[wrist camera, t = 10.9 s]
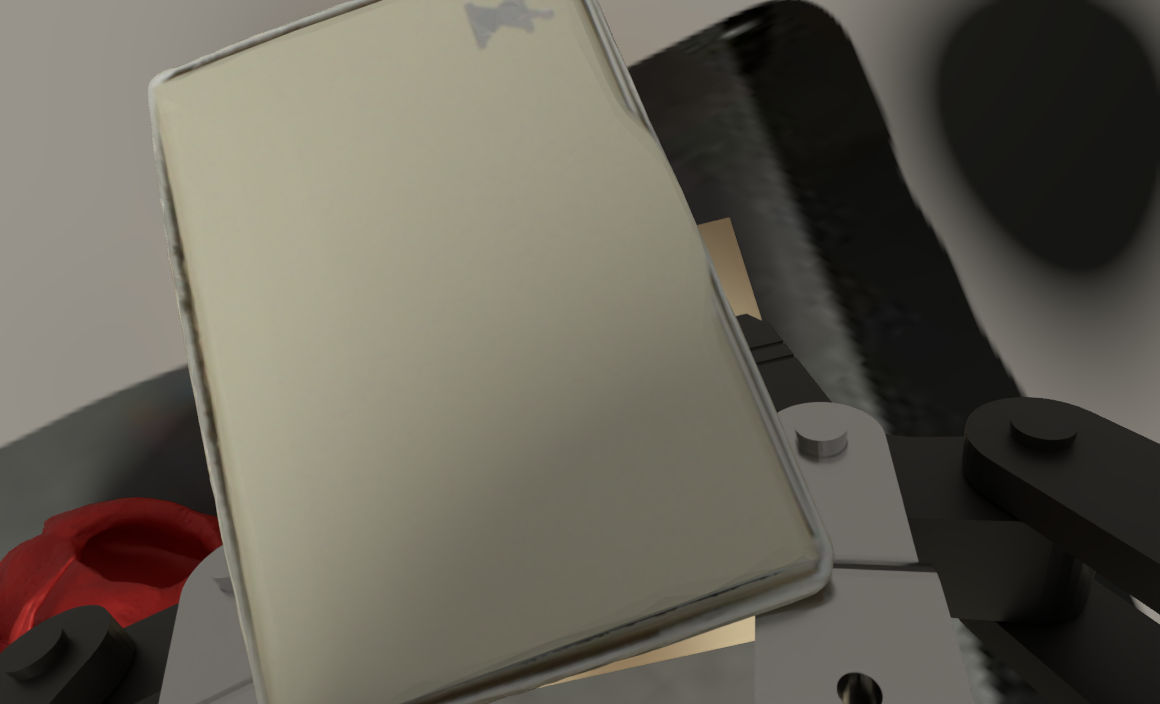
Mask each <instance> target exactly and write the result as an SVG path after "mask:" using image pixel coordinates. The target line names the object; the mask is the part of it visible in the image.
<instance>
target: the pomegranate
mask: <svg viewBox="0 0 1160 704" xmlns="http://www.w3.org/2000/svg"><path fill="white" fill-rule="evenodd" d="M222 545H223V542H222V537H221V532H220V527H219V522H218V517H215V516H213V515H207V514H203V513H200V512H198V511H195V510H191V509H190V508H188V507H185V506H183V505H180V504H177V503H174V502H171V501H165V500H159V499H153V498H142V497H133V498H120V499H117V500H113V501H104V502H99V503H94V504H89V505H86V506H83V507H80V508H77V509H74V510H72V511H67V512H64V513H61V514H58V515H55V516H52V517H51V518H49V519H48V520H47V521H45V522H44V528H43V533H42V534H41V535H39V536H36V537H34V538H32V539H31V540H27V541H25V542H23V543H21V544H19V546H17V547H15V548H14V549H12V550H11V551H9V552H8V554H7V555H6V556H5V557H4V558H3V560H2V561H1V562H0V653H1V652H2V651H3V650H4V649H5V648H7V647H8V646H9V645H10V644H11V643H13V642H14V641H15V640H16V639H18V638H19V637H20V636H22V635H23V634H24V633H26V632H27V631H29V630H30V629H32V628H33V627H35V626H37V625H38V624H40V623H41V622H43V621H45V620H47V619H49V618H51V617H53V616H55V615H57V614H59V613H61V612H64V611H66V610H69V609H72V608H75V607H79V606H84V605H99V606H102V607H104V608H105V609H106V610H107V611H108V612H109V613H110V614H111V615H112V616H113V618H114V619H115V620H116V621H117V622H118V623H119V624H120V625H121V626H122V628H125V627H127V626H129V625H131V624H133V623H136V622H138V621H140V620H142V619H144V618H147V617H149V616H151V615H153V614H155V613H157V612H160V611H162V610H164V609H166V608H168V607H171V606H173V605H175V604H177V603H179V601H180V596H181V592H182V589H183V587H184V585H185V583H186V581H187V579H188V578H189V576H190V575H191V573H192V572H193V571H194V570H195V569H196V567H197V566H198V565H199V564H200V563H201V562H202V561H203V560H204V559H205V558H206V557H207V556H209V555H210V554H211V553H212V552H213V551H215V550H216V549H217V548H219V547H220V546H222Z"/></svg>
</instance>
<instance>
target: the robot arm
mask: <svg viewBox="0 0 1160 704" xmlns="http://www.w3.org/2000/svg"><path fill="white" fill-rule="evenodd" d="M736 318H737V320H738V322H739V325H740V327H741V330H742V332H743V334H744V337H745V339H746V341H747V344H748V346H749V349H750V351H751V353H752V356H753V358H754V360H755V363H756V365H757V367H758V370H759V372H760V374H761V377H762V379H763V381H764V384H765V386H766V388H767V391H768V393H769V395H770V398H771V400H772V402H773V405H774V407H775V409H776V411H777V414H778V416H779V418H780V421H781V423H782V425H783V428H784V430H785V433H786V435H787V438H788V440H789V442H790V445H791V447H792V450H793V452H794V454H795V457H796V459H797V462H798V464H799V466H800V469H801V471H802V474H803V476H804V479H805V481H806V483H807V486H808V488H809V491H810V493H811V495H812V498H813V500H814V502H815V505H816V507H817V510H818V512H819V514H820V517H821V519H822V522H823V524H824V526H825V528H826V530H827V532H828V534H829V536H830V538H831V541H832V545H833V549H834V553H835V554H834V562H833V569H832V576H831V579H830V580H829V581H828V583H827V584H826V585H825V586H824V588H823V589H822V590H820V591H819V592H817V593H816V594H814V595H812V596H809V597H807V598H804V599H801V600H799V601H796V602H793V603H791V604H788V605H785V606H782V607H779V608H776V609H773V610H771V611H768V612H765V613H762V614H759V615H756V616H755V704H975V700H974V697H973V694H972V690H971V687H970V683H969V680H968V676H967V673H966V669H965V666H964V662H963V659H962V655H961V652H960V648H959V645H958V641H957V638H956V634H955V631H954V627H953V624H952V620H951V618H959V620H960V621H961V622H962V623H963V624H964V625H965V626H966V627H967V628H968V629H969V630H970V631H971V632H972V633H973V634H974V635H975V636H977V637H978V638H979V639H980V640H981V641H982V642H983V643H984V644H985V645H987V646H988V647H989V648H990V649H991V650H992V651H993V652H994V653H995V654H996V655H998V656H999V657H1000V658H1001V659H1002V660H1003V661H1004V662H1005V663H1006V664H1008V665H1009V666H1010V667H1011V668H1012V669H1013V670H1014V671H1015V672H1016V673H1018V674H1019V675H1020V676H1021V677H1022V678H1023V679H1024V680H1025V681H1026V682H1027V683H1029V684H1030V685H1031V686H1032V687H1033V688H1034V689H1035V690H1036V691H1037V692H1039V693H1040V694H1041V695H1042V696H1043V697H1044V698H1045V699H1046V700H1047V701H1048V702H1050V703H1051V704H1160V624H1158V623H1157V622H1155V621H1154V620H1152V619H1151V618H1150V617H1148V616H1147V615H1145V614H1144V613H1142V612H1141V611H1139V610H1138V609H1136V608H1135V607H1134V606H1132V605H1131V604H1129V603H1128V602H1126V601H1125V600H1123V599H1122V598H1121V597H1119V596H1118V595H1116V594H1115V593H1113V592H1112V591H1110V590H1109V589H1107V588H1106V587H1105V586H1103V585H1102V584H1100V583H1099V582H1097V581H1096V580H1094V579H1093V578H1094V574H1095V571H1096V572H1098V573H1099V574H1101V575H1102V576H1104V577H1105V578H1106V579H1108V580H1109V581H1111V582H1112V583H1114V584H1115V585H1117V586H1118V587H1120V588H1121V589H1123V590H1124V591H1126V592H1127V593H1129V594H1130V595H1132V596H1133V597H1135V598H1136V599H1138V600H1139V601H1141V602H1142V603H1143V604H1145V605H1146V606H1148V607H1150V608H1151V609H1153V610H1154V611H1156V612H1157V613H1158V614H1160V444H1159V443H1156V442H1154V441H1152V440H1150V439H1148V438H1146V437H1144V436H1142V435H1139V434H1137V433H1135V432H1133V431H1131V430H1129V429H1127V428H1124V427H1122V426H1120V425H1118V424H1116V423H1114V422H1112V421H1110V420H1107V419H1105V418H1103V417H1101V416H1099V415H1097V414H1095V413H1092V412H1090V411H1088V410H1085V409H1082V408H1080V407H1078V406H1075V405H1071V404H1068V403H1065V402H1060V401H1056V400H1050V399H1043V398H1030V397H1018V398H1007V399H1001V400H996V401H992V402H990V403H987V404H984V405H982V406H981V407H979V408H977V409H976V410H975V411H974V412H972V413H971V414H970V416H969V417H968V419H967V422H966V426H965V435H964V437H902V436H894V435H888V434H885V433H884V430H883V428H882V427H881V426H880V424H879V423H878V422H877V421H876V420H875V419H874V418H873V417H871V416H870V415H868V414H866V413H865V412H863V411H861V410H858V409H856V408H853V407H850V406H847V405H843V404H838V403H832V402H831V401H830V399H829V398H828V397H827V396H826V394H825V393H824V392H823V391H822V389H821V388H820V387H819V386H818V384H817V383H816V382H815V381H814V379H813V378H812V377H811V376H810V374H809V373H808V372H807V370H806V369H805V368H804V367H803V365H802V364H801V363H800V362H799V360H798V359H797V358H794V355H793V353H792V352H791V350H790V349H789V348H788V347H787V345H786V344H783V340H782V339H781V338H780V336H779V335H778V334H777V333H776V331H775V330H774V329H773V328H772V326H771V325H770V324H768V323H766V322H764V321H762V320H759V319H757V318H755V317H753V316H751V315H749V314H742V315H738V316H736ZM0 704H258V701H257V697H256V692H255V687H254V682H253V677H252V673H251V668H250V663H249V658H248V654H247V650H246V646H245V642H244V638H243V634H242V630H241V626H240V622H239V618H238V612H237V605H236V599H235V594H234V590H233V586H232V581H231V577H230V573H229V569H228V565H227V560H226V556H225V552H224V547H223V545H222V546H220V547H219V548H217V549H216V550H215V551H213V552H212V553H211V554H210V555H209V556H207V557H206V558H205V559H204V560H203V561H202V562H201V563H200V564H199V565H198V566H197V567H196V569H195V570H194V571H193V572H192V573H191V575H190V576H189V578H188V579H187V581H186V583H185V585H184V587H183V589H182V592H181V596H180V601H179V603H177V604H175V605H173V606H171V607H168V608H166V609H164V610H162V611H160V612H157V613H155V614H153V615H151V616H149V617H147V618H144V619H142V620H140V621H138V622H136V623H133V624H131V625H129V626H127V627H125V628H122V626H121V625H120V624H119V623H118V622H117V621H116V620H115V619H114V618H113V616H112V615H111V614H110V613H109V612H108V611H107V610H106V609H105V608H104V607H102V606H99V605H84V606H79V607H75V608H72V609H69V610H66V611H64V612H61V613H59V614H57V615H55V616H53V617H51V618H49V619H47V620H45V621H43V622H41V623H40V624H38V625H37V626H35V627H33V628H32V629H30V630H29V631H27V632H26V633H24V634H23V635H22V636H20V637H19V638H18V639H16V640H15V641H14V642H13V643H11V644H10V645H9V646H8V647H7V648H5V649H4V650H3V651H2V652H1V653H0Z"/></svg>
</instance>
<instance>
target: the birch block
mask: <svg viewBox="0 0 1160 704" xmlns="http://www.w3.org/2000/svg"><path fill="white" fill-rule="evenodd" d="M697 227H698V229H699V231H700V233H701V235H702V238H703V240H704V242H705V245H706V247H707V249H708V252H709V254H710V256H711V258H712V261H713V264H714V266H715V269H716V271H717V274H718V277H719V279H720V282H721V284H722V287H723V289H724V292H725V295H726V297H727V299H728V301H729V303H730V306H731V308H732V310H733V312H734V314H735V316H738V315H742V314H749V315H751V316H753V317H755V318H757V319H759V320H762V319H761V316H760V313H759V310H758V306H757V303H756V300H755V297H754V294H753V290H752V287H751V284H750V281H749V278H748V275H747V271H746V268H745V265H744V262H743V259H742V255H741V252H740V249H739V246H738V243H737V240H736V236H735V233H734V230H733V227H732V224H731V221H730V217H728V218H724V219H720V220H716V221H712V222H708V223H704V224H700V225H697ZM750 641H755V616H753V617H750V618H747V619H744V620H741V621H738V622H735V623H732V624H729V625H726V626H723V627H720V628H718V629H715V630H712V631H709V632H706V633H703V634H700V635H698V636H695V637H692V638H689V639H686V640H683V641H681V642H678V643H675V644H672V645H669V646H666V647H663V648H660V649H657V650H654V651H651V652H648V653H645V654H642V655H638V656H635V657H631V658H627V659H624V660H620V661H616V662H613V663H611V664H608V665H605V666H603V667H600V668H598V669H594V670H591V671H588V672H584V673H581V674H577V675H574V676H571V677H567V678H565V679H562V680H560V681H557V682H555V683H551V684H547V685H544V686H548V685H553V684H557V683H562V682H567V681H571V680H576V679H580V678H585V677H589V676H594V675H599V674H603V673H608V672H612V671H617V670H622V669H626V668H631V667H635V666H640V665H645V664H649V663H654V662H658V661H663V660H668V659H672V658H677V657H681V656H686V655H690V654H695V653H700V652H704V651H709V650H713V649H718V648H723V647H727V646H732V645H736V644H741V643H746V642H750ZM544 686H541V687H544ZM538 688H539V687H538Z"/></svg>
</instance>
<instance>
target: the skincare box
mask: <svg viewBox="0 0 1160 704" xmlns="http://www.w3.org/2000/svg"><path fill="white" fill-rule="evenodd" d="M148 103H149V109H150V115H151V122H152V145H153V149H154V154H155V161H156V168H157V176H158V188H159V197H160V201H161V206H162V213H163V222H164V228H165V235H166V240H167V244H168V258H169V263H170V267H171V272H172V277H173V283H174V289H175V295H176V302H177V307H178V312H179V316H180V320H181V325H182V330H183V338H184V344H185V351H186V356H187V361H188V367H189V372H190V378H191V383H192V388H193V393H194V398H195V403H196V408H197V413H198V419H199V424H200V429H201V434H202V440H203V445H204V450H205V455H206V461H207V466H208V471H209V475H210V483H211V486H212V490H213V494H214V498H215V504H216V510H217V516H218V522H219V527H220V532H221V537H222V542H223V547H224V552H225V556H226V560H227V565H228V569H229V573H230V577H231V581H232V586H233V590H234V594H235V599H236V605H237V612H238V618H239V622H240V626H241V630H242V634H243V638H244V642H245V646H246V650H247V654H248V658H249V663H250V668H251V673H252V677H253V682H254V687H255V692H256V697H257V701H258V704H487V703H491V702H494V701H496V700H499V699H502V698H505V697H507V696H512V695H516V694H521V693H524V692H527V691H530V690H532V689H535V688H538V687H541V686H544V685H547V684H551V683H555V682H557V681H560V680H562V679H565V678H567V677H571V676H574V675H577V674H581V673H584V672H588V671H591V670H594V669H598V668H600V667H603V666H605V665H608V664H611V663H613V662H616V661H620V660H624V659H627V658H631V657H635V656H638V655H642V654H645V653H648V652H651V651H654V650H657V649H660V648H663V647H666V646H669V645H672V644H675V643H678V642H681V641H683V640H686V639H689V638H692V637H695V636H698V635H700V634H703V633H706V632H709V631H712V630H715V629H718V628H720V627H723V626H726V625H729V624H732V623H735V622H738V621H741V620H744V619H747V618H750V617H753V616H756V615H759V614H762V613H765V612H768V611H771V610H773V609H776V608H779V607H782V606H785V605H788V604H791V603H793V602H796V601H799V600H801V599H804V598H807V597H809V596H812V595H814V594H816V593H817V592H819V591H820V590H822V589H823V588H824V586H825V585H826V584H827V583H828V581H829V580H830V579H831V576H832V569H833V562H834V554H835V553H834V549H833V545H832V541H831V538H830V536H829V534H828V532H827V530H826V528H825V526H824V524H823V522H822V519H821V517H820V514H819V512H818V510H817V507H816V505H815V502H814V500H813V498H812V495H811V493H810V491H809V488H808V486H807V483H806V481H805V479H804V476H803V474H802V471H801V469H800V466H799V464H798V462H797V459H796V457H795V454H794V452H793V450H792V447H791V445H790V442H789V440H788V438H787V435H786V433H785V430H784V428H783V425H782V423H781V421H780V418H779V416H778V414H777V411H776V409H775V407H774V405H773V402H772V400H771V398H770V395H769V393H768V391H767V388H766V386H765V384H764V381H763V379H762V377H761V374H760V372H759V370H758V367H757V365H756V363H755V360H754V358H753V356H752V353H751V351H750V349H749V346H748V344H747V341H746V339H745V337H744V334H743V332H742V330H741V327H740V325H739V322H738V320H737V318H736V316H735V314H734V312H733V310H732V308H731V306H730V303H729V301H728V299H727V297H726V295H725V292H724V289H723V287H722V284H721V282H720V279H719V277H718V274H717V271H716V269H715V266H714V264H713V261H712V258H711V256H710V254H709V252H708V249H707V247H706V245H705V242H704V240H703V238H702V235H701V233H700V231H699V229H698V227H697V225H696V223H695V220H694V218H693V215H692V213H691V211H690V208H689V206H688V204H687V201H686V199H685V196H684V194H683V192H682V189H681V187H680V185H679V183H678V181H677V178H676V176H675V174H674V172H673V170H672V168H671V165H670V163H669V161H668V159H667V157H666V155H665V152H664V150H663V148H662V146H661V144H660V142H659V139H658V137H657V135H656V133H655V131H654V129H653V126H652V124H651V122H650V120H649V118H648V116H647V113H646V111H645V109H644V106H643V104H642V102H641V99H640V97H639V95H638V92H637V90H636V88H635V85H634V83H633V81H632V78H631V76H630V74H629V71H628V69H627V66H626V64H625V62H624V60H623V58H622V56H621V53H620V51H619V49H618V47H617V45H616V42H615V40H614V38H613V36H612V33H611V31H610V29H609V26H608V24H607V22H606V19H605V17H604V14H603V12H602V10H601V7H600V5H599V3H598V1H597V0H353V1H349V2H346V3H343V4H340V5H337V6H334V7H331V8H329V9H326V10H324V11H320V12H318V13H315V14H312V15H310V16H307V17H305V18H302V19H299V20H296V21H293V22H291V23H288V24H285V25H282V26H280V27H276V28H274V29H271V30H268V31H265V32H262V33H260V34H257V35H255V36H252V37H249V38H247V39H244V40H242V41H239V42H237V43H234V44H232V45H229V46H227V47H225V48H223V49H221V50H219V51H217V52H215V53H213V54H209V55H205V56H203V57H201V58H199V59H197V60H195V61H193V62H190V63H187V64H184V65H181V66H178V67H174V68H171V69H168V70H165V71H163V72H161V73H159V74H157V75H155V76H154V77H153V79H152V80H151V82H150V83H149V88H148Z"/></svg>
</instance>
